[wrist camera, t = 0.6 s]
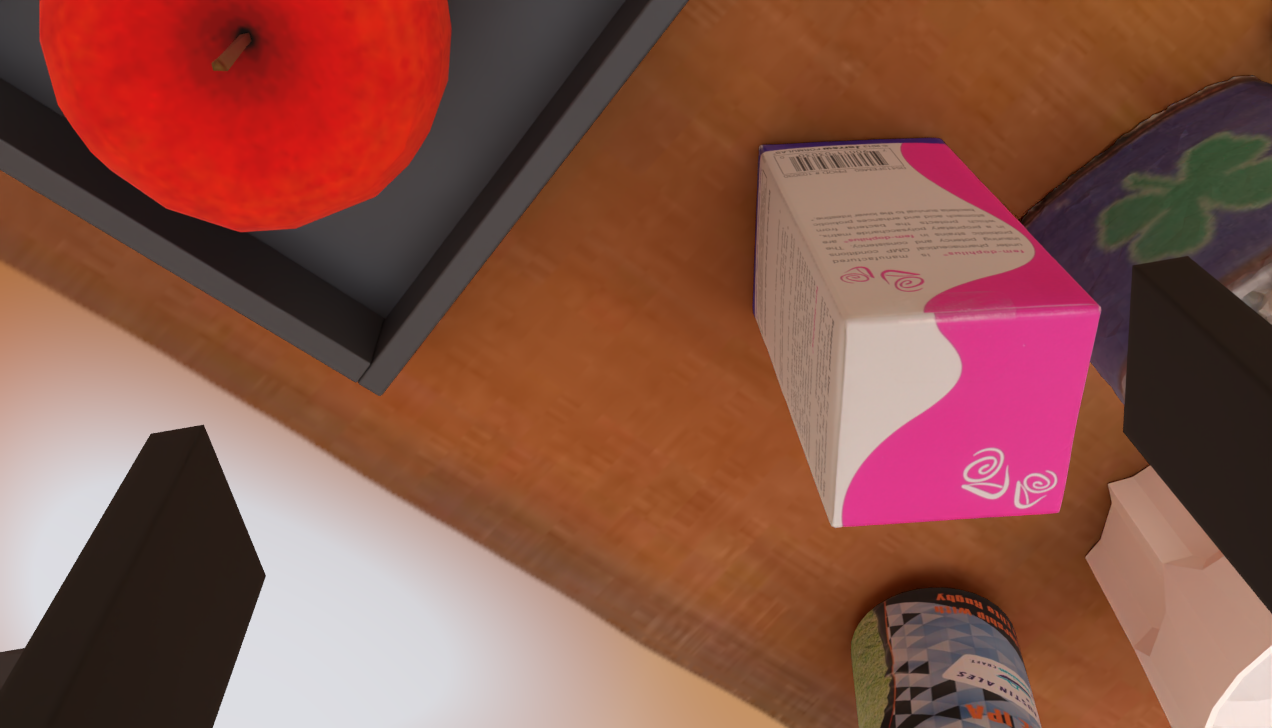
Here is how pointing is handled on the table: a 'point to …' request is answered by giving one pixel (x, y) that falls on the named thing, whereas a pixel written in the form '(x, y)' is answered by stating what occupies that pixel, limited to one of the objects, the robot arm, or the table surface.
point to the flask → (1169, 208)
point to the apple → (250, 98)
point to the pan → (384, 225)
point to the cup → (1184, 610)
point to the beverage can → (940, 664)
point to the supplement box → (916, 333)
